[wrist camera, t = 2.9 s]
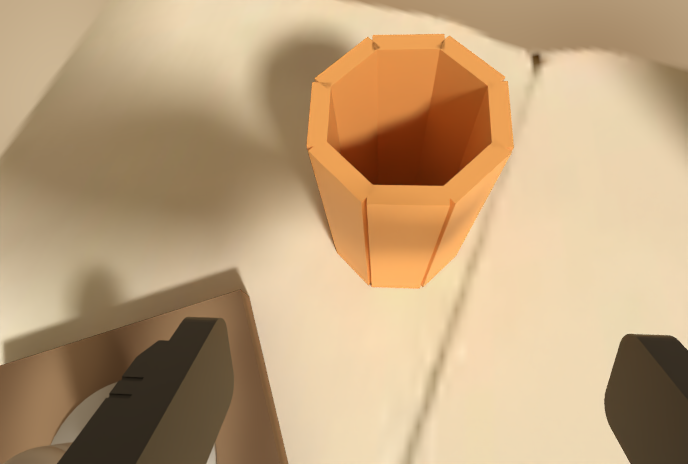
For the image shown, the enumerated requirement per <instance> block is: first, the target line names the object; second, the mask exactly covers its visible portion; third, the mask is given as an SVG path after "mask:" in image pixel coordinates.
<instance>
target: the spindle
mask: <svg viewBox="0 0 688 464" xmlns="http://www.w3.org/2000/svg"><path fill="white" fill-rule="evenodd" d="M186 317H209V318H223V319H224V320H225V322H226V326H227V332H228V339H229V345H230V352H231V358H232V365H233V372H234V390H233V396H232V400H231V404H230V407H229V409H228V412H227V414H226V417H225V419H224V421H223V424H222V426H221V429H220V431H219V434H218V436H217V439H216V441H215V444H214V446H213V449H212V451H211V454H210V456H209V458H208V461H207V463H206V464H288V461H287V456H286V452H285V448H284V444H283V439H282V435H281V431H280V427H279V422H278V418H277V414H276V409H275V405H274V401H273V397H272V392H271V388H270V384H269V380H268V375H267V371H266V367H265V363H264V358H263V354H262V350H261V346H260V341H259V337H258V333H257V329H256V324H255V320H254V316H253V312H252V307H251V303H250V299H249V296H248V295H247V294H245V293H244V292H243V291H242V290H237V291H234V292H231V293H228V294H224V295H221V296H218V297H215V298H212V299H209V300H206V301H202V302H199V303H196V304H193V305H190V306H187V307H183V308H180V309H177V310H174V311H171V312H168V313H165V314H161V315H158V316H155V317H152V318H149V319H146V320H142V321H139V322H136V323H133V324H130V325H127V326H124V327H120V328H117V329H114V330H111V331H108V332H105V333H101V334H98V335H95V336H92V337H89V338H86V339H83V340H79V341H76V342H73V343H70V344H67V345H64V346H60V347H57V348H54V349H51V350H48V351H45V352H42V353H38V354H35V355H32V356H29V357H26V358H23V359H19V360H16V361H13V362H10V363H7V364H4V365H1V366H0V464H57V463H58V462H59V460H60V459H61V458H62V456H63V455H64V454H65V452H66V451H67V450H68V448H69V447H70V445H71V444H72V443H73V441H74V440H75V439H76V437H77V436H78V435H79V433H80V432H81V431H82V429H83V428H84V427H85V425H86V424H87V423H88V421H89V420H90V419H91V417H92V416H93V415H94V413H95V412H96V411H97V409H98V408H99V406H100V405H101V404H102V402H103V401H104V400H105V398H108V397H109V393H110V392H111V390H112V389H113V388H114V386H115V385H116V384H117V382H118V381H119V380H120V381H121V380H122V376H123V374H124V373H125V372H126V370H127V369H128V367H129V366H130V365H131V363H132V362H133V361H134V359H135V358H136V357H137V356H138V355H139V354H141V353H142V352H143V351H145V350H146V349H148V348H149V347H150V346H152V345H153V344H154V343H156V342H157V341H158V340H167V341H169V340H170V338H171V337H172V335H173V334H174V332H175V331H176V329H177V328H178V326H179V325H180V323H181V322H182V321H183V319H184V318H186Z"/></svg>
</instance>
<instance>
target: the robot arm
mask: <svg viewBox="0 0 688 464" xmlns="http://www.w3.org/2000/svg"><path fill="white" fill-rule="evenodd" d="M233 390H234V372H233V365H232V358H231V352H230V345H229V339H228V332H227V326H226V322H225V320H224V319H223V318H209V317H186V318H184V319H183V321H182V322H181V323H180V325H179V326H178V328H177V329H176V331H175V332H174V334H173V335H172V337H171V338H170V340H169V341H167V340H158V341H157V342H156V343H154V344H153V345H152V346H150V347H149V348H148V349H146V350H145V351H143V352H142V353H141V354H139V355H138V356H137V357H136V358H135V359H134V361H133V362H132V363H131V365H130V366H129V367H128V369H127V370H126V372H125V373H124V374H123V376H122V380H121V381H120V380H119V381H118V382H117V384H116V385H115V386H114V388H113V389H112V390H111V392H110V393H109V397H108V398H105V400H104V401H103V402H102V404H101V405H100V406H99V408H98V409H97V411H96V412H95V413H94V415H93V416H92V417H91V419H90V420H89V421H88V423H87V424H86V425H85V427H84V428H83V429H82V431H81V432H80V433H79V435H78V436H77V437H76V439H75V440H74V441H73V443H72V444H71V445H70V447H69V448H68V450H67V451H66V452H65V454H64V455H63V456H62V458H61V459H60V460H59V462H58V463H57V464H206V463H207V461H208V458H209V456H210V454H211V451H212V449H213V446H214V444H215V441H216V439H217V436H218V434H219V431H220V429H221V426H222V424H223V421H224V419H225V417H226V414H227V412H228V409H229V407H230V404H231V400H232V396H233ZM604 404H605V412H606V417H607V420H608V423H609V425H610V427H611V429H612V431H613V433H614V435H615V437H616V438H617V440H618V442H619V444H620V445H621V447H622V449H623V451H624V453H625V454H626V456H627V458H628V460H629V462H630V463H631V464H688V350H687V349H686V348H685V347H684V346H683V345H682V344H681V343H680V342H679V341H678V340H677V339H676V338H675V337H673V336H668V335H642V334H627V335H625V336H624V337H623V338H622V340H621V342H620V345H619V348H618V352H617V355H616V358H615V362H614V365H613V369H612V372H611V375H610V379H609V382H608V385H607V389H606V392H605V399H604Z"/></svg>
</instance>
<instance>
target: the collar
mask: <svg viewBox="0 0 688 464" xmlns="http://www.w3.org/2000/svg"><path fill="white" fill-rule="evenodd" d="M504 79H505V76H503V75H502V74H501V73H499V72H498V71H496V70H495V69H494V68H492V67H491V66H490V65H488V64H487V63H486V62H484V61H483V60H482V59H480V58H479V57H478V56H476V55H475V54H474V53H472V52H471V51H470V50H468V49H467V48H465V47H464V46H463V45H461V44H460V43H459V42H457V41H456V40H455V39H453V38H452V37H451V36H448V37H447V38H446V39H445V37H444V34H416V35H373V40H371V39H370V38H369V37H367V38H366V39H364V40H363V41H362V42H360V43H359V44H358V45H357V46H355V47H354V48H353V49H351V50H350V51H349V52H348V53H346V54H345V55H344V56H343V57H341V58H340V59H339V60H337V61H336V62H335V63H334V64H332V65H331V66H330V67H328V68H327V69H326V70H325V71H323V72H322V73H321V74H319V75H318V76H317V77H316V78H315V82H312V90H311V101H310V113H309V124H308V135H307V150H308V153H309V157H310V160H311V164H312V167H313V171H314V174H315V178H316V181H317V185H318V188H319V192H320V195H321V199H322V202H323V206H324V209H325V213H326V216H327V220H328V223H329V227H330V230H331V234H332V237H333V241H334V244H335V248H336V250H337V253H338V254H339V255H340V256H341V257H342V258H343V259H344V260H345V261H346V262H347V264H348V265H349V266H350V267H351V268H352V269H353V270H354V271H355V272H356V273H357V274H358V275H359V276H360V277H361V278H362V279H363V280H364V281H365V282H366V283H367V284H368V285H370V284H371V283H372V287H390V288H420V286H422V287H424V286H425V285H426V284H427V283H428V282H429V281H430V280H431V279H432V278H433V277H434V276H435V275H436V274H437V273H438V272H439V271H440V270H442V269H443V268H444V267H445V266H446V265H447V264H448V263H449V262H450V261H451V260H452V259H453V258H454V257H455V256H456V255H457V253H458V251H459V249H460V247H461V245H462V244H463V242H464V240H465V238H466V236H467V234H468V233H469V231H470V229H471V227H472V225H473V223H474V221H475V220H476V218H477V216H478V214H479V212H480V210H481V208H482V207H483V205H484V203H485V201H486V199H487V197H488V195H489V194H490V192H491V190H492V188H493V186H494V184H495V182H496V181H497V179H498V177H499V175H500V173H501V171H502V169H503V168H504V166H505V164H506V162H507V160H508V158H509V157H510V155H511V153H512V150H513V148H514V145H513V134H512V123H511V111H510V100H509V89H508V81H504Z"/></svg>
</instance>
